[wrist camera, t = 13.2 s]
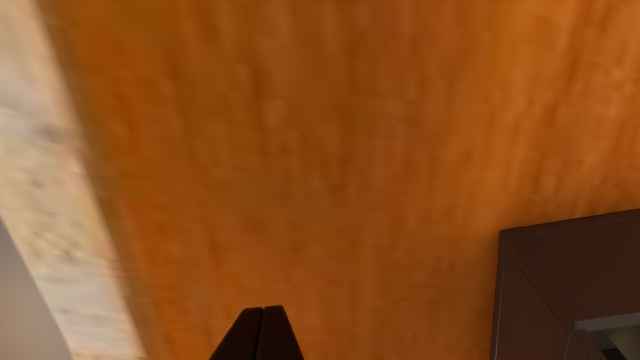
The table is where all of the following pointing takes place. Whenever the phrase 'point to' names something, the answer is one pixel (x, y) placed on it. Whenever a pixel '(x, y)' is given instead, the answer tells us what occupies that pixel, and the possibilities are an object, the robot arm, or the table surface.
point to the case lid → (583, 347)
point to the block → (626, 340)
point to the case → (566, 285)
